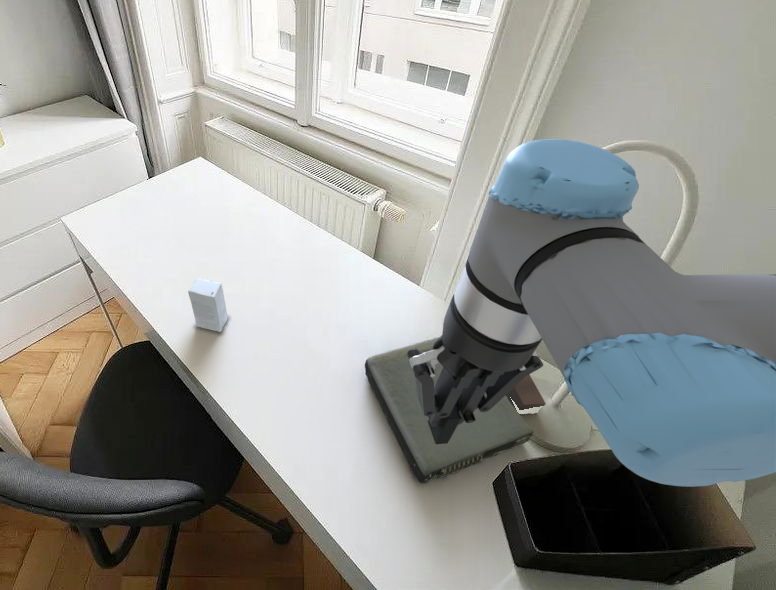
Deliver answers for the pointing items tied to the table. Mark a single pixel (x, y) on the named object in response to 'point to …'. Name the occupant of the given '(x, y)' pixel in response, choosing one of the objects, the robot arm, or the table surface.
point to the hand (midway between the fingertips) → (437, 432)
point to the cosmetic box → (208, 304)
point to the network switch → (411, 425)
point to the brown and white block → (526, 395)
